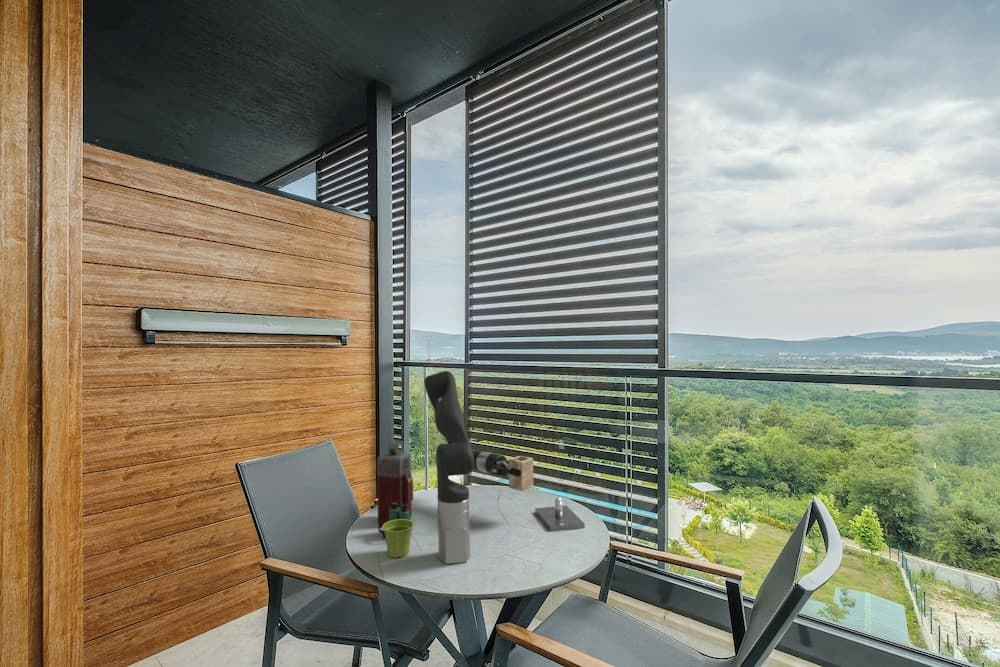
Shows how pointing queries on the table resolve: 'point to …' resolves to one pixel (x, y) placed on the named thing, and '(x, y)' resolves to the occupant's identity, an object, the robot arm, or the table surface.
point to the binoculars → (396, 514)
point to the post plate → (559, 517)
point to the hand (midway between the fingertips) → (526, 471)
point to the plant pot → (398, 536)
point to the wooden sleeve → (526, 473)
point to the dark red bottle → (393, 481)
